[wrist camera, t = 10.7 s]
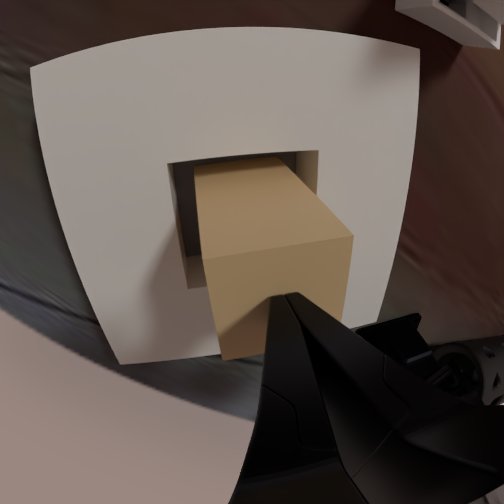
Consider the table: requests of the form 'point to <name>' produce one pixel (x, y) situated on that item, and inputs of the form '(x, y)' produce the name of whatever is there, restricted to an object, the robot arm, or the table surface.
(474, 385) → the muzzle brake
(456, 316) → the table surface
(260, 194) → the plug
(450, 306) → the table surface
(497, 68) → the table surface
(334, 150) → the socket plate
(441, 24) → the white angled block
